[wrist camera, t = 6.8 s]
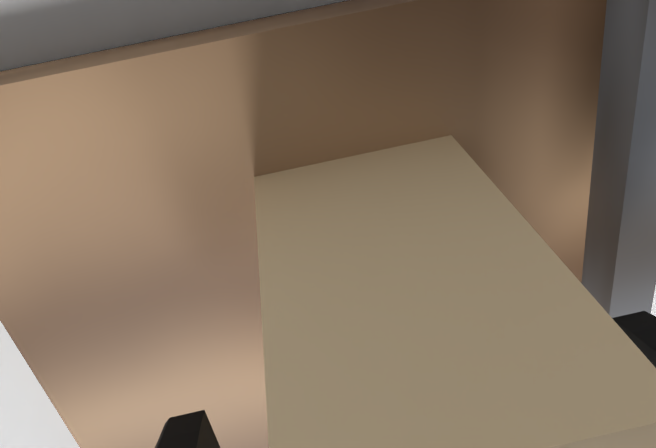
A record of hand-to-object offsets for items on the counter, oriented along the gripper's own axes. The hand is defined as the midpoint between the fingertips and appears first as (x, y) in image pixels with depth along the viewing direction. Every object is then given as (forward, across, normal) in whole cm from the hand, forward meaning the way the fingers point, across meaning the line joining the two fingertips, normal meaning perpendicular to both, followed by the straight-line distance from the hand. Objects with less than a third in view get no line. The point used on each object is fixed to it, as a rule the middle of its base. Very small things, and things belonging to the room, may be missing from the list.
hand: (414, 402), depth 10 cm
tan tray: (+5, +1, 0) cm, 5 cm away
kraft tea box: (+3, 0, 0) cm, 3 cm away
